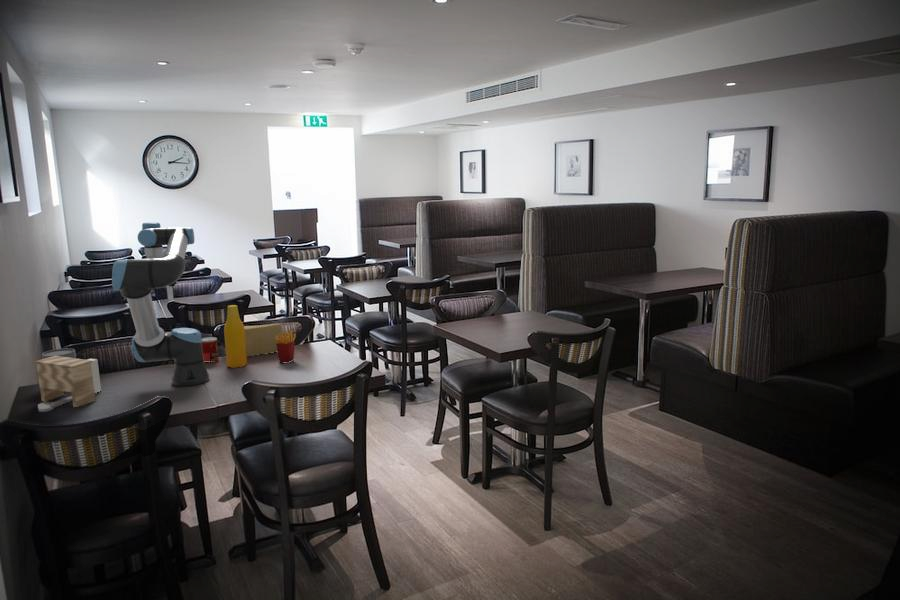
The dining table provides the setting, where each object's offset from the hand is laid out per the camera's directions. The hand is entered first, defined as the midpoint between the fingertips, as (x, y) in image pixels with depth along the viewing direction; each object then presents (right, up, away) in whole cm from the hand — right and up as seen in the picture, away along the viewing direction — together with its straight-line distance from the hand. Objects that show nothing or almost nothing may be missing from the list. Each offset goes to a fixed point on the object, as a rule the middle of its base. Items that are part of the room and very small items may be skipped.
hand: (159, 302), depth 279 cm
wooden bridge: (-19, -39, -36) cm, 57 cm away
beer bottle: (+32, -30, +10) cm, 45 cm away
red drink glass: (+16, -29, +19) cm, 38 cm away
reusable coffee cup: (-34, -36, -17) cm, 52 cm away
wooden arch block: (-18, -39, -34) cm, 54 cm away
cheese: (+38, -26, +30) cm, 55 cm away
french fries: (+54, -29, +17) cm, 64 cm away
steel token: (-22, -41, -45) cm, 65 cm away
